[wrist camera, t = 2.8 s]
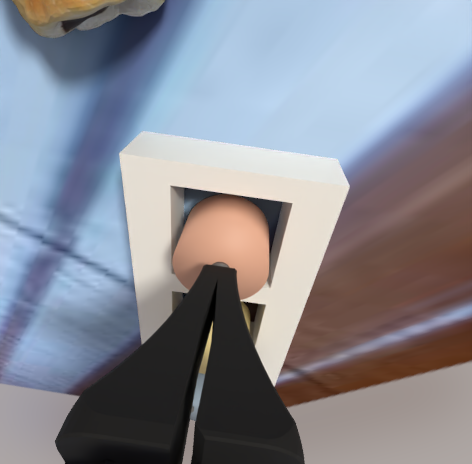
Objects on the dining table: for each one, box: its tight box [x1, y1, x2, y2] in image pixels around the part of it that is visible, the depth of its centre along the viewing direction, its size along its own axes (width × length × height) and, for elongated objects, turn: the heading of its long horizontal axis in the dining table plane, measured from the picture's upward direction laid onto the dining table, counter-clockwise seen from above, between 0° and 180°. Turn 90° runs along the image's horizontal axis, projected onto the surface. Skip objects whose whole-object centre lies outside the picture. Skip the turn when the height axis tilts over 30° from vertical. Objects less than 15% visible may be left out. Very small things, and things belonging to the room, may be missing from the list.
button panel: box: [119, 131, 350, 386], centre depth 21 cm, size 22×10×3 cm, turn 173°
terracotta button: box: [172, 194, 269, 300], centre depth 15 cm, size 4×4×3 cm
